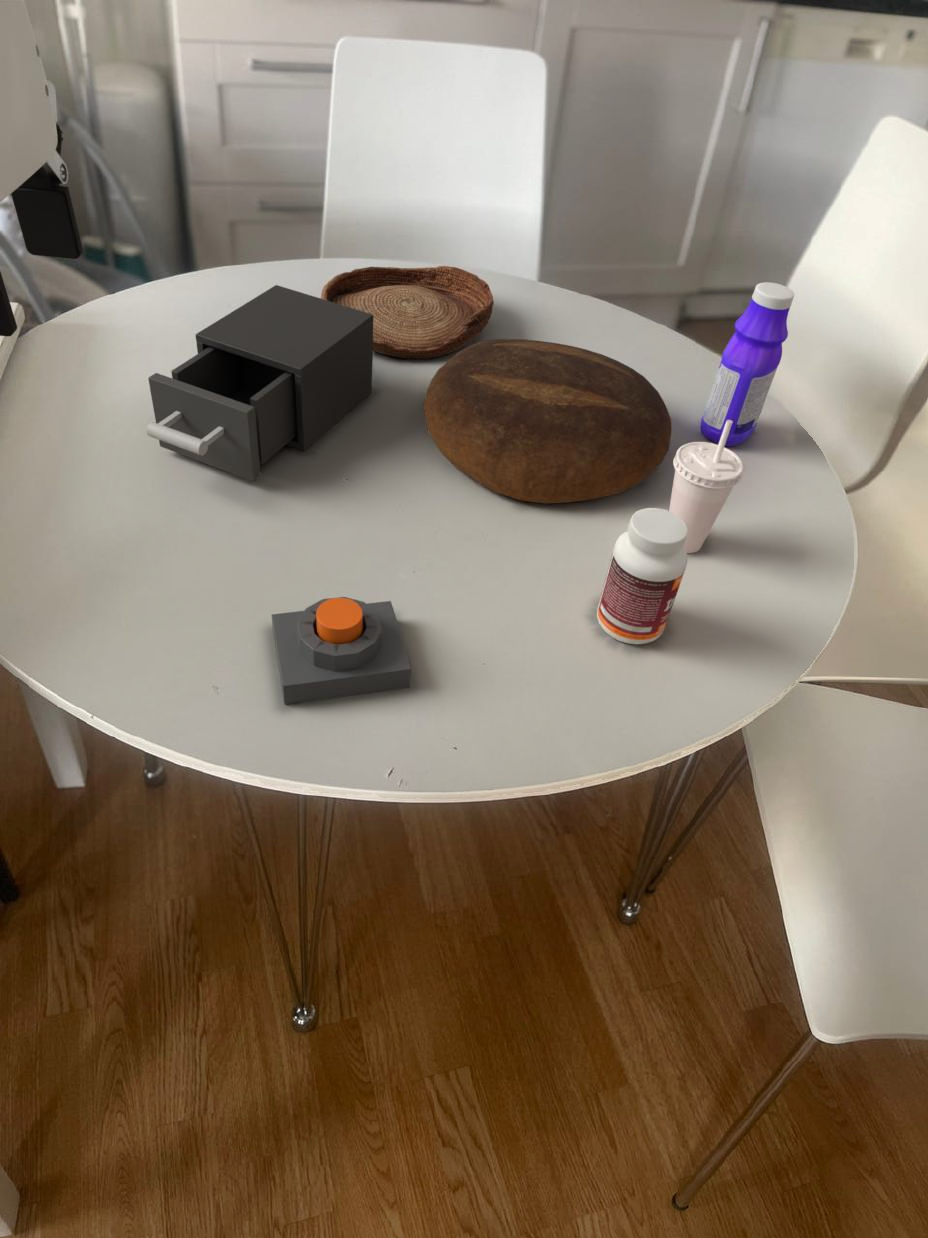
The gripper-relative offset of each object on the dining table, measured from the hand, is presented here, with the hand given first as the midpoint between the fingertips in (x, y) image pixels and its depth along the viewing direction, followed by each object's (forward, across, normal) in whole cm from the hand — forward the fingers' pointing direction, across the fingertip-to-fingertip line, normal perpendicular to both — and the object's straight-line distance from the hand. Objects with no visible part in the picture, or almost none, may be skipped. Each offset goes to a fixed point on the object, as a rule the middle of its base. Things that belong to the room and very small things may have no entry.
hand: (23, 290), depth 50 cm
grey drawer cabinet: (+31, -40, +6) cm, 51 cm away
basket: (+32, -62, +16) cm, 72 cm away
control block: (+31, -1, +17) cm, 35 cm away
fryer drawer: (+30, -30, +2) cm, 42 cm away
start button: (+27, -1, +17) cm, 32 cm away
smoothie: (+32, -22, +48) cm, 62 cm away
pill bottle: (+31, -9, +42) cm, 53 cm away
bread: (+32, -38, +34) cm, 61 cm away
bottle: (+32, -43, +56) cm, 78 cm away
